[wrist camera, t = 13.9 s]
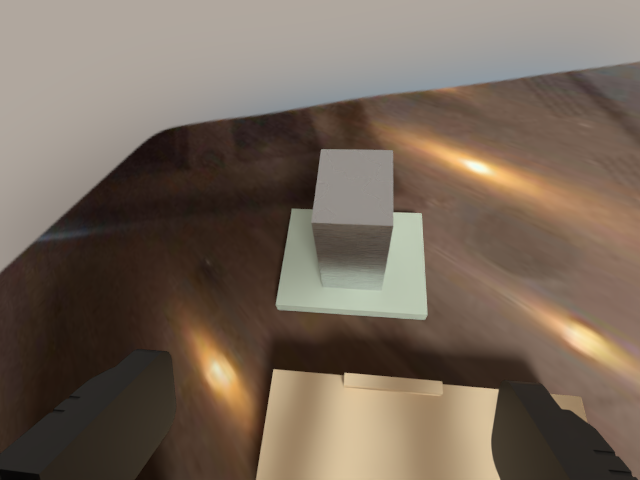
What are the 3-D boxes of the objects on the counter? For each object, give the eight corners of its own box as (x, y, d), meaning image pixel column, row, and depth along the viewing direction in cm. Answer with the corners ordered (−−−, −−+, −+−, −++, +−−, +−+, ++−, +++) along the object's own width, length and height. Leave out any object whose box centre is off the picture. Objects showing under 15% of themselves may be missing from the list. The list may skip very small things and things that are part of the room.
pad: (278, 309, 25) (275, 304, 24) (293, 215, 29) (292, 208, 28) (424, 319, 24) (427, 314, 23) (419, 220, 28) (421, 213, 27)
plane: (262, 517, 19) (233, 537, 14) (282, 378, 22) (264, 359, 18) (586, 562, 17) (673, 603, 12) (552, 403, 21) (610, 389, 16)
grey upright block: (322, 287, 24) (311, 222, 18) (329, 219, 27) (322, 141, 20) (381, 290, 24) (393, 225, 17) (382, 221, 27) (392, 142, 20)
